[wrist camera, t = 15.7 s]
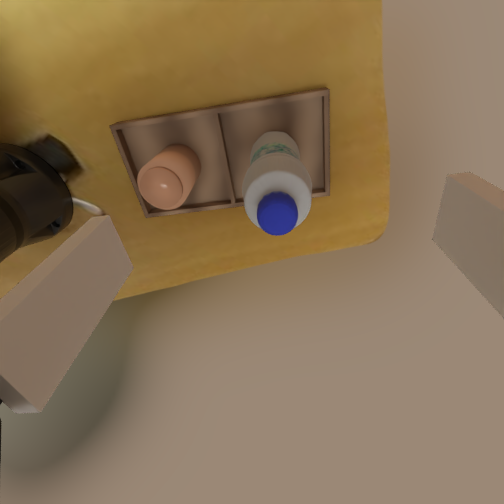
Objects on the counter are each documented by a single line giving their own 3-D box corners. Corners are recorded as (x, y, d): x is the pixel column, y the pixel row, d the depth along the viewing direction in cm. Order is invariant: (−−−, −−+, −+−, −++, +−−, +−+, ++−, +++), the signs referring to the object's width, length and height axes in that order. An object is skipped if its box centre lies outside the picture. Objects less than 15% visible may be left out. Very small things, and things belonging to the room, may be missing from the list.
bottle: (260, 183, 42) (254, 266, 25) (242, 137, 38) (221, 198, 22) (305, 166, 40) (331, 243, 23) (290, 117, 36) (309, 166, 20)
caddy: (151, 210, 46) (145, 217, 44) (117, 122, 39) (109, 125, 37) (326, 188, 43) (329, 195, 40) (325, 87, 35) (329, 89, 33)
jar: (166, 188, 43) (145, 215, 35) (152, 147, 39) (126, 167, 32) (205, 183, 42) (192, 209, 35) (194, 140, 39) (177, 159, 31)
